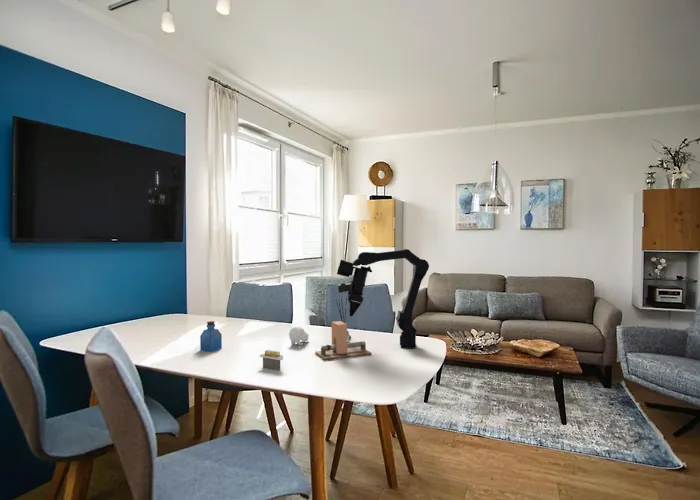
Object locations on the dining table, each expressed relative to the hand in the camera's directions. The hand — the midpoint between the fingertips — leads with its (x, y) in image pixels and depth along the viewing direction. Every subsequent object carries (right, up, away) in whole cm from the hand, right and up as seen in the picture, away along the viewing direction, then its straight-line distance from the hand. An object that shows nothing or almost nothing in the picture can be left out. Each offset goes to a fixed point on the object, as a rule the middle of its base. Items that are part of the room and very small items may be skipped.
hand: (350, 314), depth 186 cm
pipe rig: (-4, -15, -12) cm, 19 cm away
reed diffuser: (-4, -14, +12) cm, 19 cm away
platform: (-29, -16, -30) cm, 45 cm away
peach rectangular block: (-5, -13, -13) cm, 19 cm away
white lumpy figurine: (-23, -15, +8) cm, 28 cm away
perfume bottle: (-60, -15, -3) cm, 62 cm away
